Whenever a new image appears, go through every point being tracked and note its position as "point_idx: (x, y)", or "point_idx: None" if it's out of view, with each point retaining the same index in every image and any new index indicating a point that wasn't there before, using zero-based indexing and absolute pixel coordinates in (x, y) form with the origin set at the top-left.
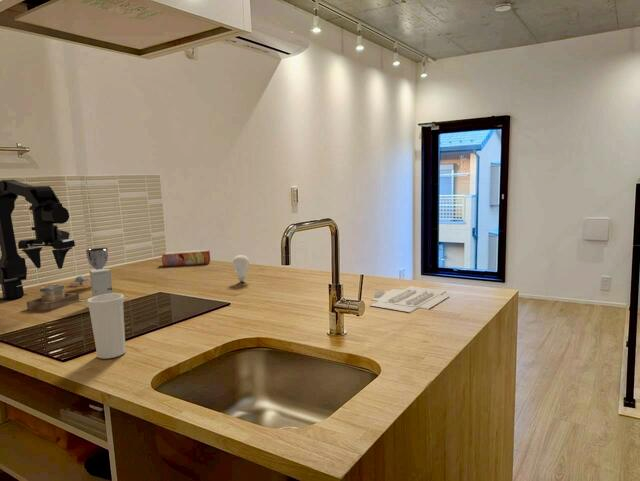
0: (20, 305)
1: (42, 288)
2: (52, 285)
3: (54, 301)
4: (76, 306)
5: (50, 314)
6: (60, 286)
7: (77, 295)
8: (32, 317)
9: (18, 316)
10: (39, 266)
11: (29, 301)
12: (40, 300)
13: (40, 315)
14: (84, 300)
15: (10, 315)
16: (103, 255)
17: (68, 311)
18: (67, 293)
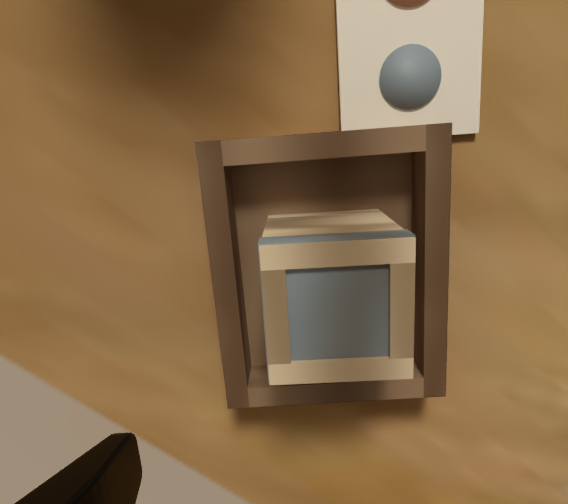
0: (82, 319)
1: (302, 382)
2: (289, 267)
3: (439, 358)
4: (528, 254)
5: (486, 421)
6: (414, 277)
7: (446, 137)
8: (422, 480)
9: (318, 483)
10: (126, 468)
11: (236, 394)
12: (241, 312)
13: (438, 446)
14: (477, 115)
15: (249, 479)
16: None
17: (559, 354)
18: (335, 140)
